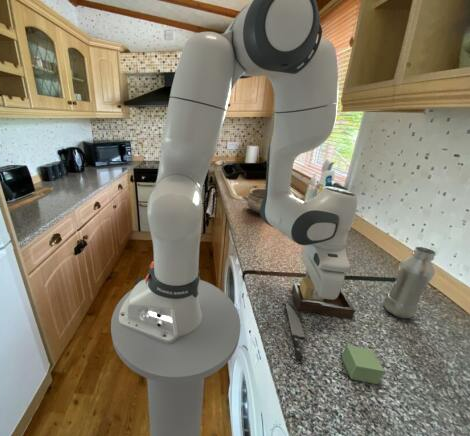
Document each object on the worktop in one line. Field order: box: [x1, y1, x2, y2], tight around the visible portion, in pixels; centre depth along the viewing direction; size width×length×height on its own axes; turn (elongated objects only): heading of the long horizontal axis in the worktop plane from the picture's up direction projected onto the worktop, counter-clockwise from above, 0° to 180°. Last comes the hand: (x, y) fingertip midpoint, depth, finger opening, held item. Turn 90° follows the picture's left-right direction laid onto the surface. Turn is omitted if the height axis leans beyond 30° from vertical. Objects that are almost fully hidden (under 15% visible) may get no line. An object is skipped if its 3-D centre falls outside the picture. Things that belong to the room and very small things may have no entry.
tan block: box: [299, 276, 323, 302], centre depth 69 cm, size 5×5×4 cm
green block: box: [341, 344, 385, 385], centre depth 51 cm, size 5×5×4 cm
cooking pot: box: [241, 187, 265, 215], centre depth 134 cm, size 25×19×12 cm
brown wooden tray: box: [291, 282, 356, 320], centre depth 70 cm, size 14×9×3 cm, turn 78°
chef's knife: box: [284, 301, 306, 361], centre depth 62 cm, size 19×1×3 cm
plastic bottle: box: [383, 246, 437, 319], centre depth 64 cm, size 6×7×20 cm
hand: (311, 289), depth 69 cm, fingers closed on tan block, 5 cm apart
